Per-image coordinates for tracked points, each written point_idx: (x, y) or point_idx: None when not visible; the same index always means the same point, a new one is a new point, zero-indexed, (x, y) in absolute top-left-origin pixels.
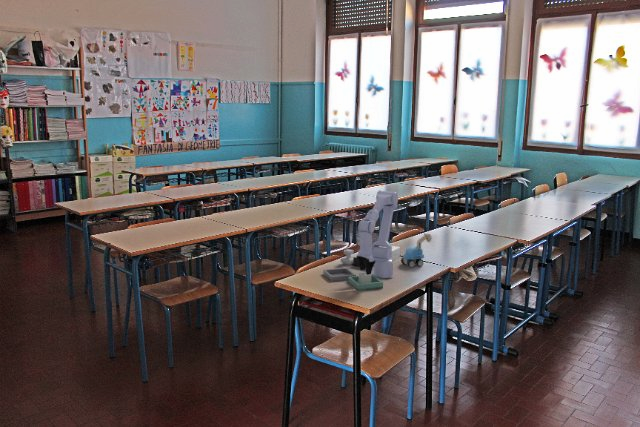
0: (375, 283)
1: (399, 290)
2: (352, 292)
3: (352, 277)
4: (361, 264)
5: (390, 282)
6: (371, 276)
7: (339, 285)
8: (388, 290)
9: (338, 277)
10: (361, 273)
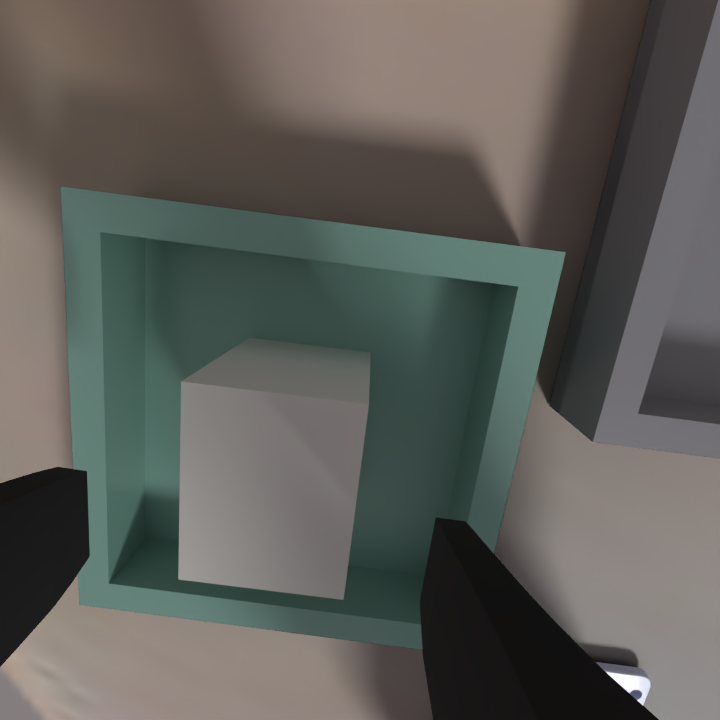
0: None
1: None
2: (88, 88)
3: (508, 320)
4: (472, 666)
5: (291, 704)
6: None
7: (475, 51)
8: None
9: (683, 79)
10: (334, 453)
